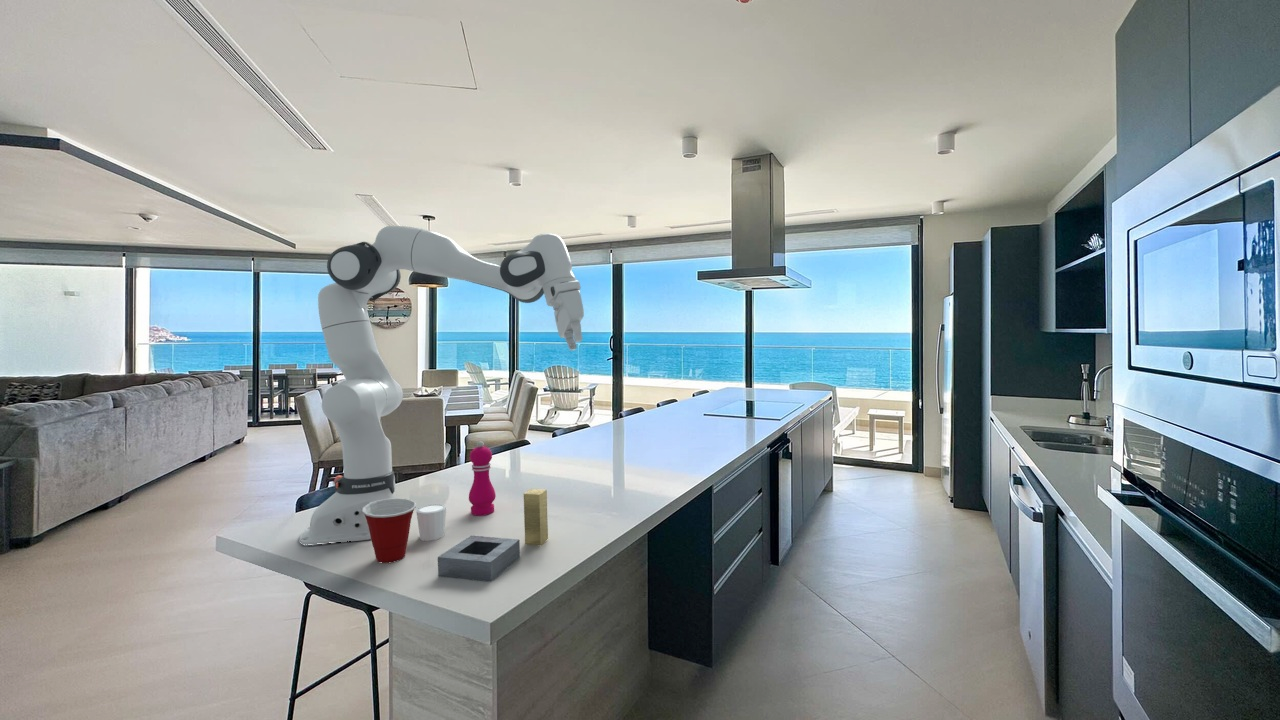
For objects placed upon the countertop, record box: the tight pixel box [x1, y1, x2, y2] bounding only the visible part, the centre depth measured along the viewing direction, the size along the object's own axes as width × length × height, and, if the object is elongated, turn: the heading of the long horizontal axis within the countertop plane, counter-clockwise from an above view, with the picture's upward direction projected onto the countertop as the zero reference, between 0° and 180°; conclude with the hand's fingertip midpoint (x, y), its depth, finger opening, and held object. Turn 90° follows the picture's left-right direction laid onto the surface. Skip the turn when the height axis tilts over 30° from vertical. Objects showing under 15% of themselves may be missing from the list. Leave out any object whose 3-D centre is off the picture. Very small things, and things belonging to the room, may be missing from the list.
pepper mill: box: [468, 440, 497, 517], centre depth 146 cm, size 7×7×20 cm
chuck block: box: [437, 535, 521, 583], centre depth 110 cm, size 12×12×4 cm
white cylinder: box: [415, 503, 447, 542], centre depth 128 cm, size 7×7×7 cm
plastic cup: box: [362, 497, 417, 564], centre depth 115 cm, size 11×11×12 cm
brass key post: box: [523, 488, 549, 546], centre depth 123 cm, size 4×4×12 cm
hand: (576, 345), depth 132 cm, fingers open, 8 cm apart
